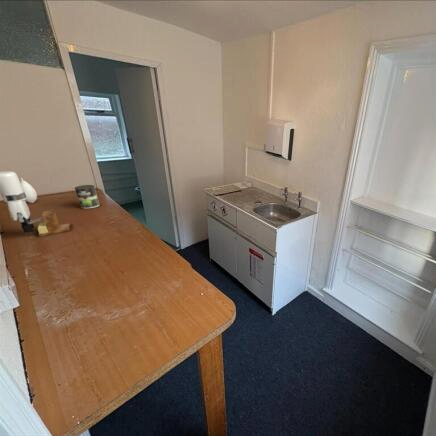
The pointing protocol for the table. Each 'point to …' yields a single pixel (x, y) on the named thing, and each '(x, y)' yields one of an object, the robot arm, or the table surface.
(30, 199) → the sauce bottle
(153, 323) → the table surface
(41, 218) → the ball knob on post
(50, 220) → the wooden toy catapult
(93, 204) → the coffee can
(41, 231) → the butter
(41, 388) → the table surface
